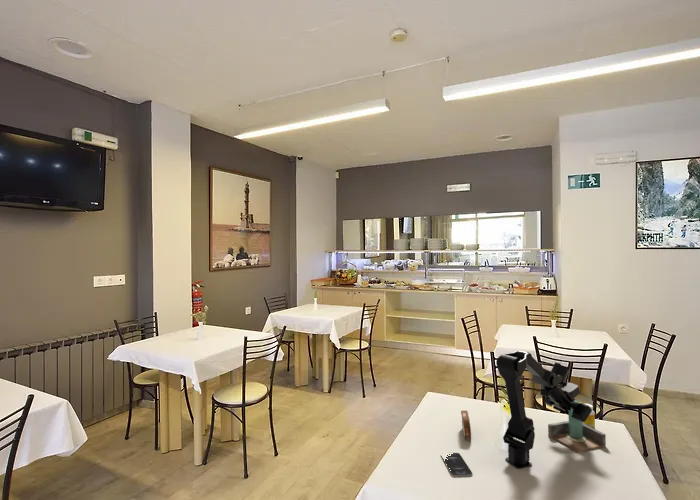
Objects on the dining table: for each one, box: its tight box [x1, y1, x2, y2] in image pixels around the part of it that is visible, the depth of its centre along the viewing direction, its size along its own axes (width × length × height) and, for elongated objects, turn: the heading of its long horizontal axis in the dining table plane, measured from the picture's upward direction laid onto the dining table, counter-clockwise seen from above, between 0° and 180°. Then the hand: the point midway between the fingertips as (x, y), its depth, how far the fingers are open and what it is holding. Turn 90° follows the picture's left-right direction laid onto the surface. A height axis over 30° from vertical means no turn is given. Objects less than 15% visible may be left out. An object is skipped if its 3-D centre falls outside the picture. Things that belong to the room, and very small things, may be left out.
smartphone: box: [442, 452, 473, 478], centre depth 139 cm, size 8×1×15 cm
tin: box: [460, 410, 472, 440], centre depth 162 cm, size 15×3×8 cm, turn 168°
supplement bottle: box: [583, 403, 596, 430], centre depth 167 cm, size 5×5×10 cm
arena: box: [547, 420, 607, 453], centre depth 155 cm, size 14×14×5 cm
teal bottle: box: [568, 399, 583, 438], centre depth 156 cm, size 5×5×14 cm
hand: (578, 418), depth 157 cm, fingers closed on teal bottle, 5 cm apart
